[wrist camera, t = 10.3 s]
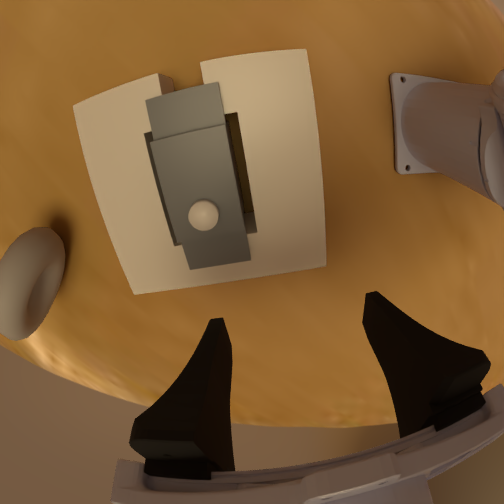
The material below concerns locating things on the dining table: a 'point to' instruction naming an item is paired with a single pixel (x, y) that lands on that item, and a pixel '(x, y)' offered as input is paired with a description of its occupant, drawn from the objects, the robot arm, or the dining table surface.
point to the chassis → (257, 160)
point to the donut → (29, 281)
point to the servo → (199, 175)
